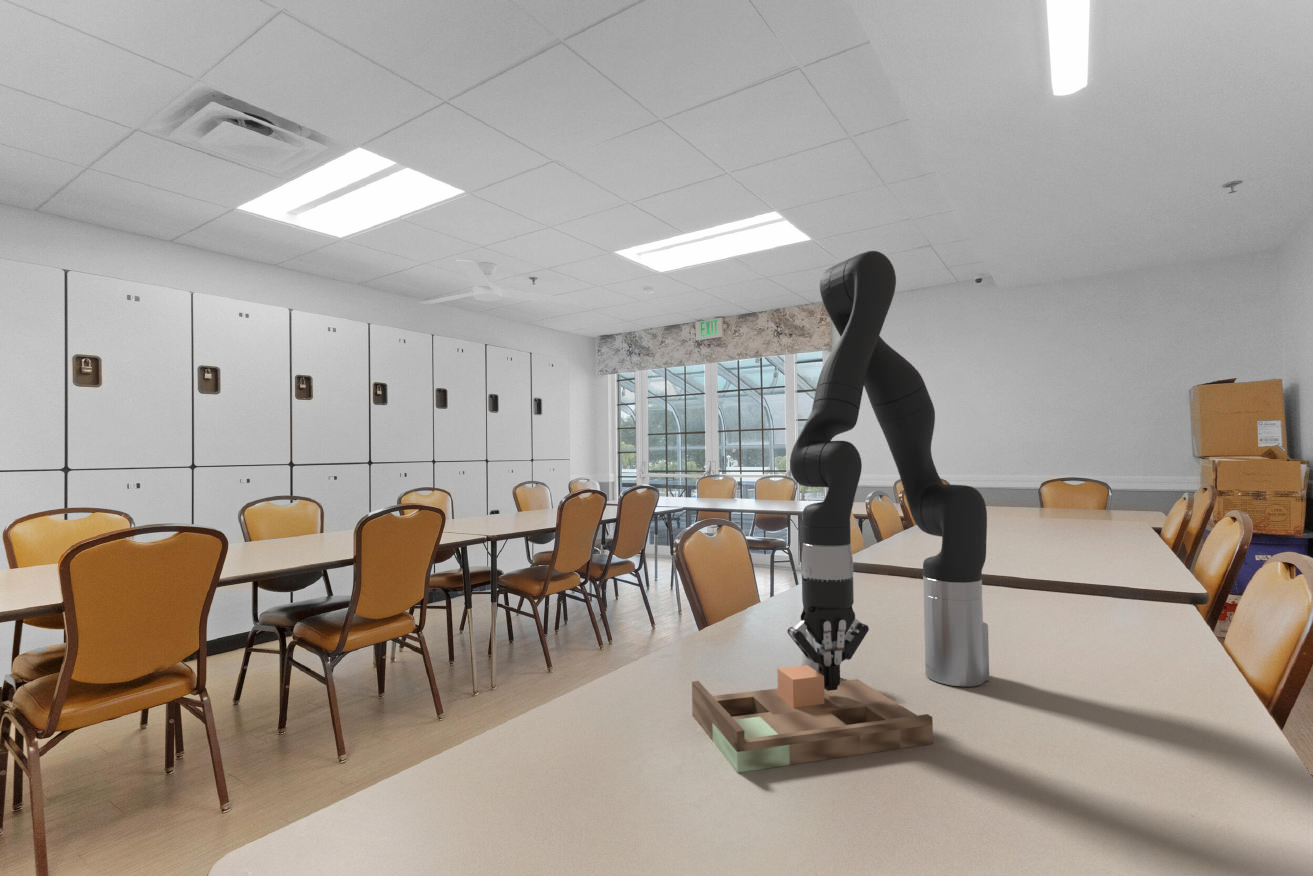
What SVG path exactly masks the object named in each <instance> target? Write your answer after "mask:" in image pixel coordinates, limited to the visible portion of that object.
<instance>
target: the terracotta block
mask: <svg viewBox="0 0 1313 876" xmlns="http://www.w3.org/2000/svg"><path fill="white" fill-rule="evenodd" d="M776 670H777V688H778V696H780V697H781V698H782V699H783V700H785V701H786V702H787V703H788V704H790V705H791V706H792V707H793V708H795V707H803V706H810V705H818V704H825V700H824V676H823V675H822V674H820V673H819V672H817V671H815V670H814V669H812V668H811V667H809V666H808V665H804V666H802V665H797V666H796V665H795V666H789V667H780V668H779V667H778V668H777V669H776Z"/></svg>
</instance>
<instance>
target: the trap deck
mask: <svg viewBox="0 0 1313 876" xmlns="http://www.w3.org/2000/svg"><path fill="white" fill-rule="evenodd" d="M824 700H825V704H818V705H810V706H803V707H795V708H793V707H792V706H791V705H790V704H788V703H787V702H786V701H785V700H783V699H782V698H781V697H780V696H778V687H777V688H769V689H762V690H761V689H760V690H753V691H745V692H736V693H727V694H719V695H712V694H711V693H710V692H709V691H708V690H707V689H706V688H705V686H703V684H702V683H701V682H700V681H699V680H694V681H693V680H692V681H691V703H692V704H691V705H692V706H691V710H692V711H691V713H692V716H693V718H694V720H696V721H697V723H698V724H699V725H700V727H701V728H702V729H703V730H704V732H705V733H706V734H707V735H708V737H709V738H710V739H711V741H712V742H713V744H714V745H715V746H716V747H717V749H718V750H719V751H720V752H721V753H722V755H723V756H724V757H725V759H726V761H728V762H729V764H730V766H731V767H732V768H733V769H734V770H735V771H736V772H737V773H745V772H751V771H758V770H764V769H770V768H778V767H784V766H790V765H791V766H792V765H800V764H805V763H812V762H817V761H819V762H820V761H824V760H825V761H826V760H832V759H840V758H845V757H851V756H857V755H858V756H859V755H865V754H871V753H878V752H885V751H891V750H898V749H904V748H912V747H918V746H919V747H920V746H925V745H931V744H934V731H933V730H934V729H933V726H934V725H933V716H931V715H930V714H927V713H926V714H918V715H917V714H915V713H914V712H913V711H911V710H909V709H908V708H906V707H904V706H903V705H901V704H899V703H898V702H896V701H895V700H893V699H891V698H889V696H888V697H887V696H886V695H884V694H883V693H882V692H880V691H878V690H876V689H875V688H873V687H871V686H870V685H868V684H866V683H865V682H863V681H862V680H861V679H858V678H856V679H849V680H848V679H847V680H840V684H839V686H838V688H837V690H831V691H827V690H826V689H824Z"/></svg>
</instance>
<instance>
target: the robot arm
mask: <svg viewBox="0 0 1313 876" xmlns="http://www.w3.org/2000/svg"><path fill="white" fill-rule="evenodd" d="M819 280H820V281H819V292H820V297H821V301H822V303H823V305H824V308H825V310H826V312H827V314H828V316H829V318H830V320H831V322H832V323H833V326H834V328H835V329H836V331H837V332H838V335H839V336H840V337H839V340H838V341H837V343H836V344H835V346H834V348H833V349H832V351H831V353H830V354H829V355H828V357H827V359H826V361H825V362H824V365H823V367H822V369H821V371H820V374H819V376H818V380H817V384H816V389H815V392H814V399H813V401H812V402H813V403H812V408H811V409H812V410H811V412H810V414H809V416H808V418H807V420H806V421H805V423H804V425H803V428H802V429H801V431H800V433H799V436H798V437H797V439H796V441H795V443H794V445H793V447H792V451H791V452H790V453H791V454H790V458H789V459H790V460H789V468H790V473H791V475H792V477H793V480H794V481H795V482H796V483H797V484H798V485H800V486H802V487H806V488H807V487H809V488H828V490H827V493H826V496H825V497H824V499H823V501H820V502H814V503H810V504H807V505H805V507H804V509H803V511H802V550H801V600H802V601H801V602H802V607H803V608H802V612H801V614H800V621H799V622H798V623H797V624H796V625H794V627H792V626H790V627H788V628H787V634H788V635H789V637H790V638H791V639H792V641H793V642H794V643H795V645H796V646H797V647H798V649H799V650H800V651H801V653H802V654H803V653H804V655H805V656H806V657H807V658H808V659H810V660H812V661H813V662H815V663H818V672H819V673H820V674H822V675H823V676H824V689H826V690H827V691H831V690H837V688H838V686H839V684H840V681H841V664H842V663H843V662H844V661H845V660H848V661H849V660H851V659H852V658H853V656H854V655H855V653H856V652H857V650H858V648H859V646H860V645H861V643H862V642H863V640H864V638H865V637H866V635H867V633H868V632H869V630H870V629H869V626H868V625H867V624H865V623H863V622H861V621H860V620H858V619H857V618H856V613H855V611H854V609H853V605H854V599H855V598H854V560H853V551H852V544H851V543H852V542H851V541H852V539H851V537H852V536H851V515H852V510H853V506H854V502H855V497H856V493H857V489H858V485H859V482H860V478H861V475H862V467H863V466H862V465H863V464H862V458H861V454H860V453H859V450H858V448H857V447H856V446H855V445H854V444H853V443H851V442H850V441H845V440H833V438H835V437H836V436H837V435H840V434H843V433H846V432H848V431H851V430H853V429H854V428H855V426H856V425H857V423H858V419H859V415H860V414H859V413H860V408H861V403H862V399H863V398H862V397H863V392H864V389H865V392H866V394H867V397H868V399H869V403H870V406H871V408H872V410H873V412H874V415H875V418H876V420H877V422H878V424H879V426H880V428H881V429H880V430H881V431H882V433H883V434H884V438H885V440H886V442H887V446H888V448H889V450H890V451H889V452H890V454H891V455H892V458H893V461H894V463H895V466H896V469H897V472H898V474H899V478H900V481H901V484H902V488H903V491H904V495H905V498H906V502H907V505H908V508H909V512H910V514H911V516H912V519H913V521H914V523H915V525H916V526H917V527H918V528H919V529H920V530H921V531H922V532H924V533H926V534H928V535H930V536H936V537H941V539H942V540H941V549H940V551H939V552H938V554H936V555H933V556H930V557H927V558H925V559H924V560H923V563H922V578H923V581H922V582H923V583H922V584H923V586H922V587H923V619H924V620H923V621H924V622H923V623H924V624H923V625H924V628H923V629H924V660H925V662H924V666H925V667H924V668H925V673H924V674H925V676H926V677H927V678H928V679H929V680H932V681H933V682H937V683H940V684H944V685H948V686H954V687H966V688H967V687H976V686H980V685H983V684H984V683H985V682H988V681H990V677H991V676H990V647H989V645H990V644H989V625H988V624H987V623H986V622H984V612H983V606H984V605H983V579H982V578H983V577H982V576H983V575H982V574H983V569H984V566H985V563H986V559H987V536H988V535H987V534H988V533H987V532H988V513H987V505H986V503H985V499H984V497H983V495H982V494H981V492H980V491H979V490H978V489H976V487H973V486H970V485H965V484H964V485H963V484H950V483H949V484H947V483H946V484H945V483H943V481H942V479H941V477H940V475H939V473H938V471H937V468H936V465H935V463H934V459H933V456H932V443H933V442H932V441H933V435H934V430H935V424H936V423H935V422H936V411H935V407H934V403H933V401H932V397H931V395H930V393H929V391H928V388H927V386H926V384H925V381H924V378H923V377H922V374H921V373H920V372H919V371H918V369H916V367H915V366H913V364H912V363H911V362H910V361H909V360H907V358H905V357H904V356H902V354H900V353H899V352H897V351H896V350H895V349H893V348H892V347H891V346H890V345H889V344H888V343H887V342H885V340H884V339H883V338H882V336H880V334H881V333H882V329H883V326H884V323H885V320H886V318H887V316H888V312H889V311H890V308H891V305H892V302H893V299H894V296H895V292H896V285H897V277H896V271H895V268H894V265H893V263H892V262H891V261H890V259H889V257H887V256H886V255H885V254H884V253H882V252H880V251H878V250H868V251H865V252H863V253H858V254H856V255H855V256H852V257H850V258H848V259H846V260H843V261H841V262H839V263H838V264H835V265H833V266H831V267H829V268H828V269H826V270H824V272H823V273H822V275H821V277H820V279H819ZM807 630H808V632H809V633H810V635H811V636H812V637H813V644H814V646H815V649H814V648H813V647H812V646H811V644H810V643H809V642H808V640H807V639H806V638H807V637H808V636H807ZM815 650H816V651H815Z"/></svg>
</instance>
